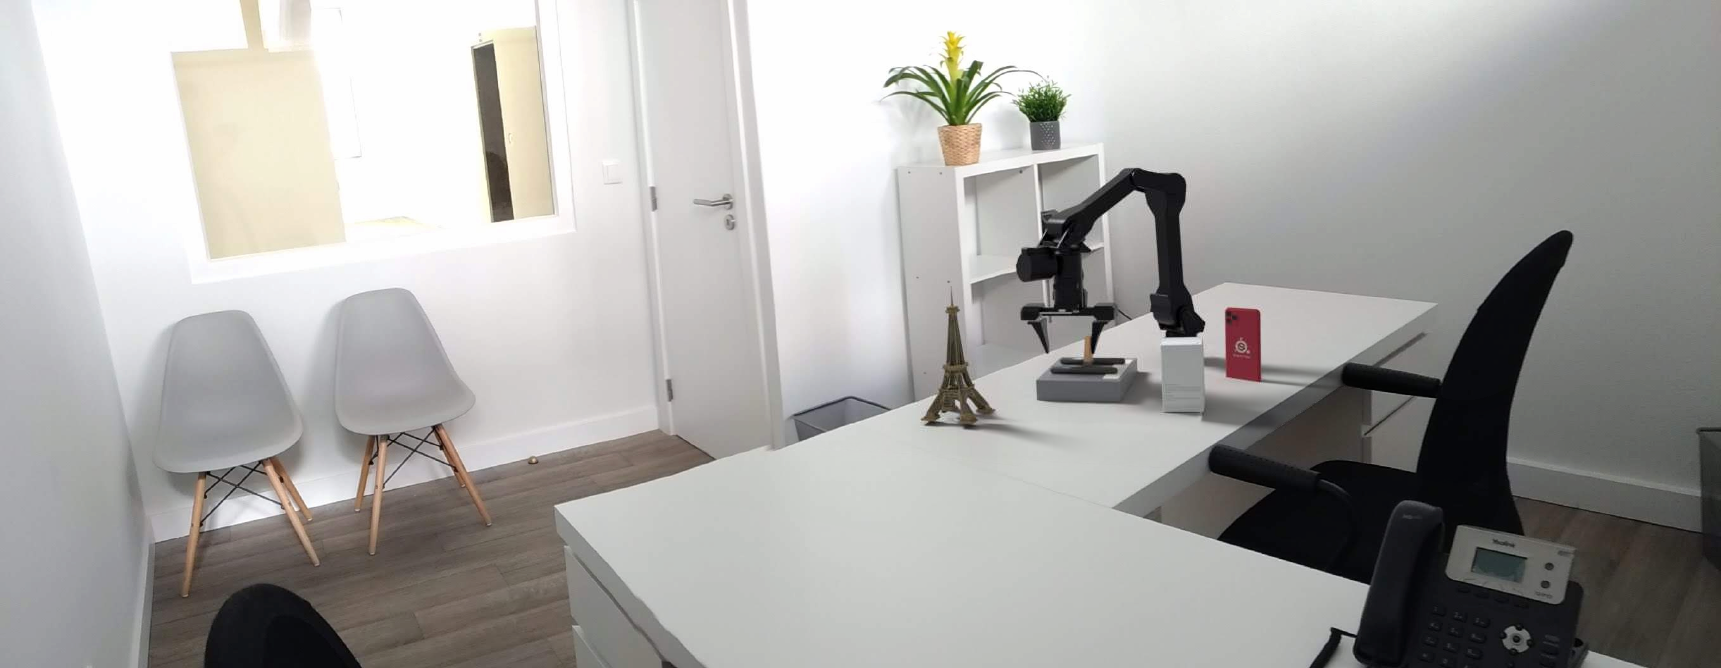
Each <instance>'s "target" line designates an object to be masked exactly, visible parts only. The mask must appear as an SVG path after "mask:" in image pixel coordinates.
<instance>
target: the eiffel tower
mask: <svg viewBox="0 0 1721 668" xmlns="http://www.w3.org/2000/svg"><path fill="white" fill-rule="evenodd" d="M952 290H953V289H952V287H950V305H948V306H946V307H945V311H944V313H945V314H948V321H947V338H946V339H947V340H946V341H947V342H946V356H945V357H946V358H945V359H946V360H945V363H943V364H942V369H943V370H944V375H943V379H942V383H941V386H940V387H939V388H937V390H938V391H939V392H938V394H937V395H936V397H935V398H934V400H933V401H932V403H931V405H930V406H929V407H928V409H927V410H926V412H925V413H926V414H925V415H924V416H923V417H921V418H920V422H921V421H924V422H936V421H937V420H939V419H941V414H939V413H940V412H953V411H955V410H957V409H959V407H960V418H959V419H958V420H959V421H958V424H964V425H973V424H975V423H977V422H979V418H977V416H975V413H976V414H978V413H979V414H991V413H992V412H994V411H996V408H993V407H992V406H990V404H989V402H987V400H986V399H985V398H984V397H983V395H982V394H980V393H981V392H979V391H978V390H977V389H976V388H975V385H976V383H973V381H972V379H971V378H970V375H969V372H968V368H967V367H969V366H970V365H969V361H968V360H966V361H965V355H964V351H963V342H962V339H961V334H960V333H961V332H960V325H959V320H958V319H959V318H958V313H959V312H960V311H961V310H960V308H959V305H954V299H953V291H952ZM968 399H969V400H970V401H971V402H972V403H973V404H974V405H973V406H975V407H976V409H975V413H974V412H973V410H972V408H971V407H970V405H969V404H968V401H967V400H968ZM956 401H958V402H959V406H958V405H957V404H956Z"/></svg>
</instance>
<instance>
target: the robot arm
mask: <svg viewBox="0 0 1721 668" xmlns="http://www.w3.org/2000/svg"><path fill="white" fill-rule="evenodd" d="M1134 191H1135V192H1138V193H1143V194H1144V197H1145V200H1146V205H1147V206H1148V208H1149V210H1150V212H1151V213H1152V215H1153V218H1154V224H1155V227H1154V228H1155V241H1156V242H1155V243H1156V252H1157V271H1158V281H1159V283H1158V287H1157V289H1156V291H1155V293H1152V292H1151V293H1150V294H1149V301H1150V310H1149V312H1150V313H1152V317H1153V319H1154V320H1155V321H1156V323H1157V324H1158V327H1159V330H1160V331H1165V332H1164V333H1165V336H1164V337H1163V338H1179V337H1199V334H1200V333H1204V332H1205V331H1204V330H1205V327H1206V321H1205V320H1204V319H1203V317H1201V316H1200V315H1199V313H1198V312H1196V311H1195V305H1194V302H1193V297H1192V295H1191V293H1190V292H1189V290H1188V288H1187V286H1186V285H1185V282H1184V281H1185V280H1184V267H1183V266H1184V265H1183V254H1182V251H1183V250H1182V236H1181V222H1180V214H1181V211H1182V210H1183V208H1184V205H1185V203H1186V201H1187V200H1186V199H1187V181H1186V178H1185V177H1184V176H1183V175H1181V173H1179V172H1157V171H1149V170H1146V169H1143V168H1141V167H1125V168H1123V169H1121V170H1120V171H1119V172H1118V174H1116V175H1115V176H1113V178H1112V179H1111V180H1109V181H1108V182H1106V183H1105V184H1104V185H1103V186H1101V187H1100V188H1098V189H1097V190H1096V191H1094V192H1093V193H1092V194H1091V195H1089V196H1088V197H1087V198H1085V199H1084V200H1083V201H1081V202H1080V203H1078V204H1076V205H1074V206H1073V205H1072V206H1071V207H1068V208H1065V209H1063V210H1060V211H1059V212H1057V213H1055V214H1053V215H1051V217H1049V219H1048V220H1047V222H1046V224H1047V226H1046V229H1045V231H1044V233H1043V234H1042V236H1041V238H1040V239H1039V241H1038V243H1037V245H1036V247H1031V246H1030V247H1028V246H1024V247H1021V248H1020V249H1021V253H1020V255H1019V256H1018V257H1017V261H1016V263H1015V270H1016V271H1015V272H1016V275H1017V276H1018V279H1019V280H1020V281H1021V282H1022V283H1031V282H1032V283H1033V282H1037V281H1038V282H1039V281H1047V280H1048V281H1049V280H1051V279H1052V280H1053V282H1052V283H1053V284H1052V300H1053V306H1046V304H1045V302H1028V303H1026V304H1025V305H1023V306H1022V307H1021V308H1020V312H1019V313H1020V314H1019V316H1020V321H1026V325H1027V326H1028V325H1029V326H1032V328H1033V329H1034V331H1035V333H1036V334H1037V337H1038V338H1039V340H1040V343H1041V344H1042V347H1043V349H1044V351H1045V353H1046V355H1049V354H1050V339H1049V334H1048V333H1049V332H1048V317H1093V318H1094V320H1093V321H1092V322H1091V334H1092V339H1091V351H1092V354H1093V355H1095V353H1096V350H1097V347H1098V343H1099V339H1100V336H1101V334H1102V331H1103V330H1104V327H1105V326H1106V325H1108V324H1109V323H1111V322H1112V321H1114V320H1115V319H1117V318H1118V317H1119V307H1118V306H1119V305H1118V304H1117V303H1116V302H1097V303H1096V304H1094V305H1093V306H1088V296H1089V295H1088V294H1089V293H1088V291H1087V289H1086V288H1085V287H1084V280H1083V256H1082V255H1083V254H1089V253H1091V252H1092V249H1091V248H1090V247H1089V246H1087V245H1086V244H1085V242H1084V239H1085V238H1086V236H1088V234H1089V233H1090V232H1091V231H1092V230H1093V227H1094V225H1095V222H1096V221H1098V220H1099V218H1101V217H1102V216H1103V215H1104V214H1106V213H1107V212H1108V211H1110V210H1111V209H1112V208H1114V207H1115V206H1117V204H1119V203H1120V202H1121V201H1123V200H1124V199H1125V198H1127V197H1128V196H1129V195H1130V194H1131V193H1133V192H1134ZM1061 310H1062V311H1061Z"/></svg>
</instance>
